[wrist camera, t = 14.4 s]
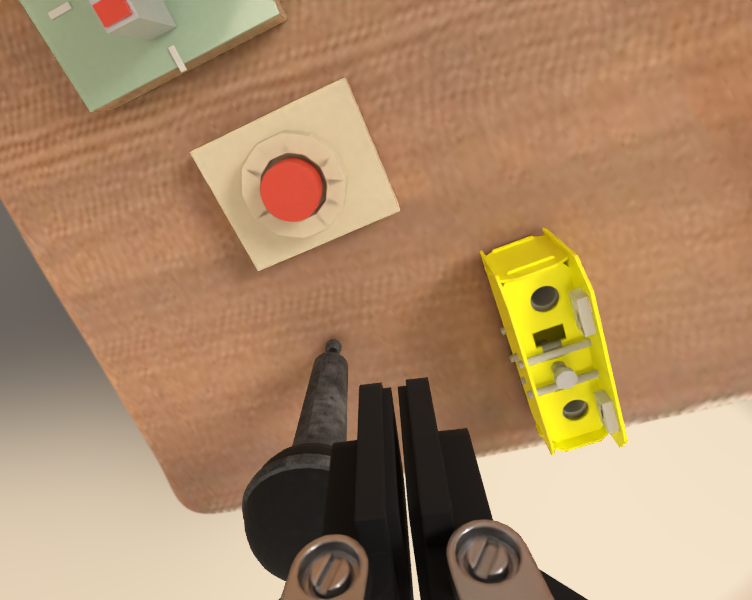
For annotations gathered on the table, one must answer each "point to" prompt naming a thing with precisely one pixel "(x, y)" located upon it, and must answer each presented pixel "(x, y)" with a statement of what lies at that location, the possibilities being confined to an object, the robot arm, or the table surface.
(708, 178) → the table surface
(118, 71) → the base
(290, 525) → the microphone
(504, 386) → the table surface
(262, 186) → the button
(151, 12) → the red-tabbed grey block
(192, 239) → the table surface
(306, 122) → the beige button housing
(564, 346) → the yellow toy chassis
